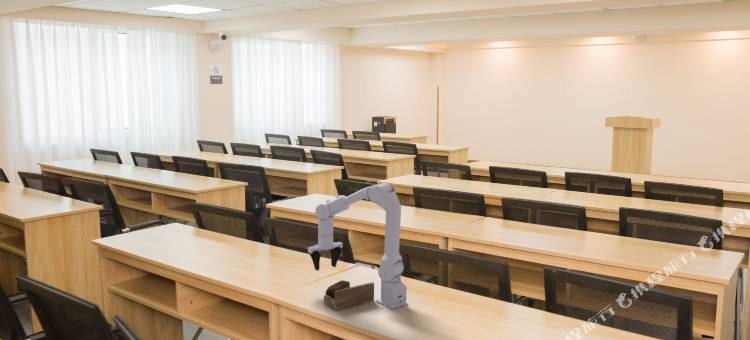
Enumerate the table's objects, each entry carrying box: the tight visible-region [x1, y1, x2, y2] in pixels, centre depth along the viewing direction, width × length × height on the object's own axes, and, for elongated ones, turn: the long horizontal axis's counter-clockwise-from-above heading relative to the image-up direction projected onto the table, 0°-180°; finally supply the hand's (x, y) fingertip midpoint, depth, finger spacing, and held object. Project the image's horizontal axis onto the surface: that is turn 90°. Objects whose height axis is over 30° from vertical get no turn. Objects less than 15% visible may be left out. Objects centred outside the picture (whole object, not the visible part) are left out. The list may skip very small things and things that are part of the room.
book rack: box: [323, 281, 375, 312], centre depth 215 cm, size 9×16×7 cm, turn 127°
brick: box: [325, 279, 351, 299], centre depth 222 cm, size 11×4×5 cm, turn 149°
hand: (325, 268), depth 227 cm, fingers open, 7 cm apart
